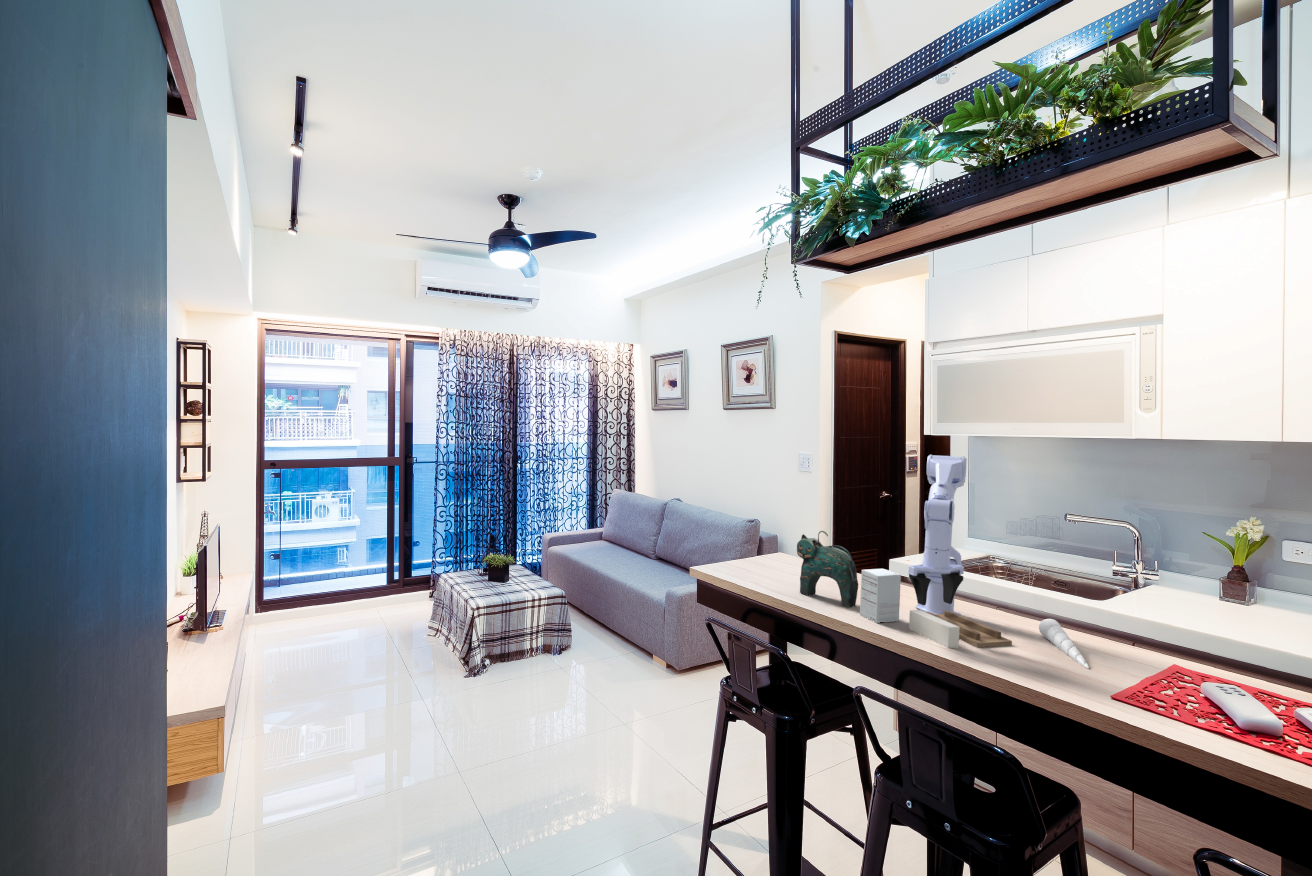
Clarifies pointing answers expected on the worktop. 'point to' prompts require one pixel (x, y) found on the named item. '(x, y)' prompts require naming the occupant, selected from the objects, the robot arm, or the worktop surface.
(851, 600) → the ceramic cat
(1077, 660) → the unicorn horn
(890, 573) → the supplement box
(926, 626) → the white rectangular block
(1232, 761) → the worktop surface
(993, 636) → the railed tan base plate
